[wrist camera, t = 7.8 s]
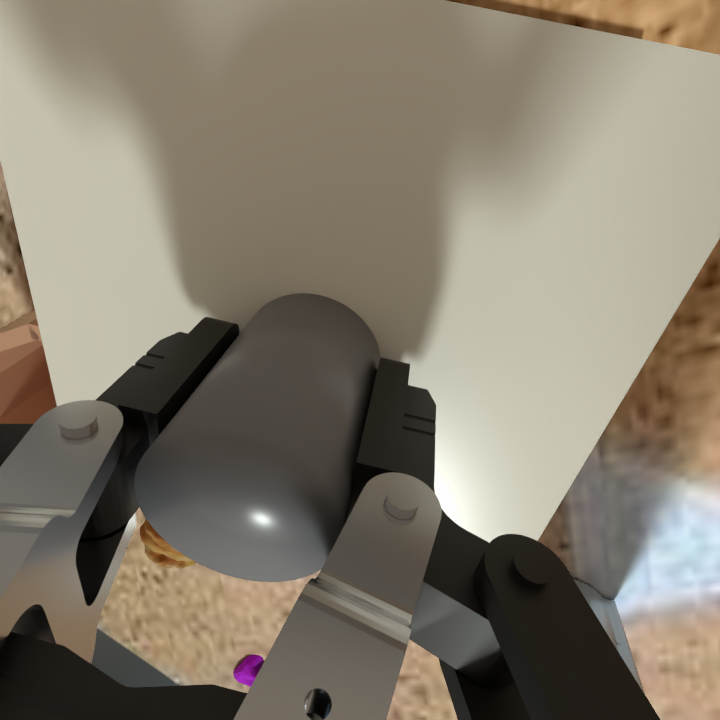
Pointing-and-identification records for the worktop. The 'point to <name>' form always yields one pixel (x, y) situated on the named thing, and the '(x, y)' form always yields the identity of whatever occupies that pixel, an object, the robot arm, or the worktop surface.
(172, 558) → the pastry
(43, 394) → the bowl
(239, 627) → the worktop surface
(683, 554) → the worktop surface
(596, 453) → the worktop surface
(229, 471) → the cover
